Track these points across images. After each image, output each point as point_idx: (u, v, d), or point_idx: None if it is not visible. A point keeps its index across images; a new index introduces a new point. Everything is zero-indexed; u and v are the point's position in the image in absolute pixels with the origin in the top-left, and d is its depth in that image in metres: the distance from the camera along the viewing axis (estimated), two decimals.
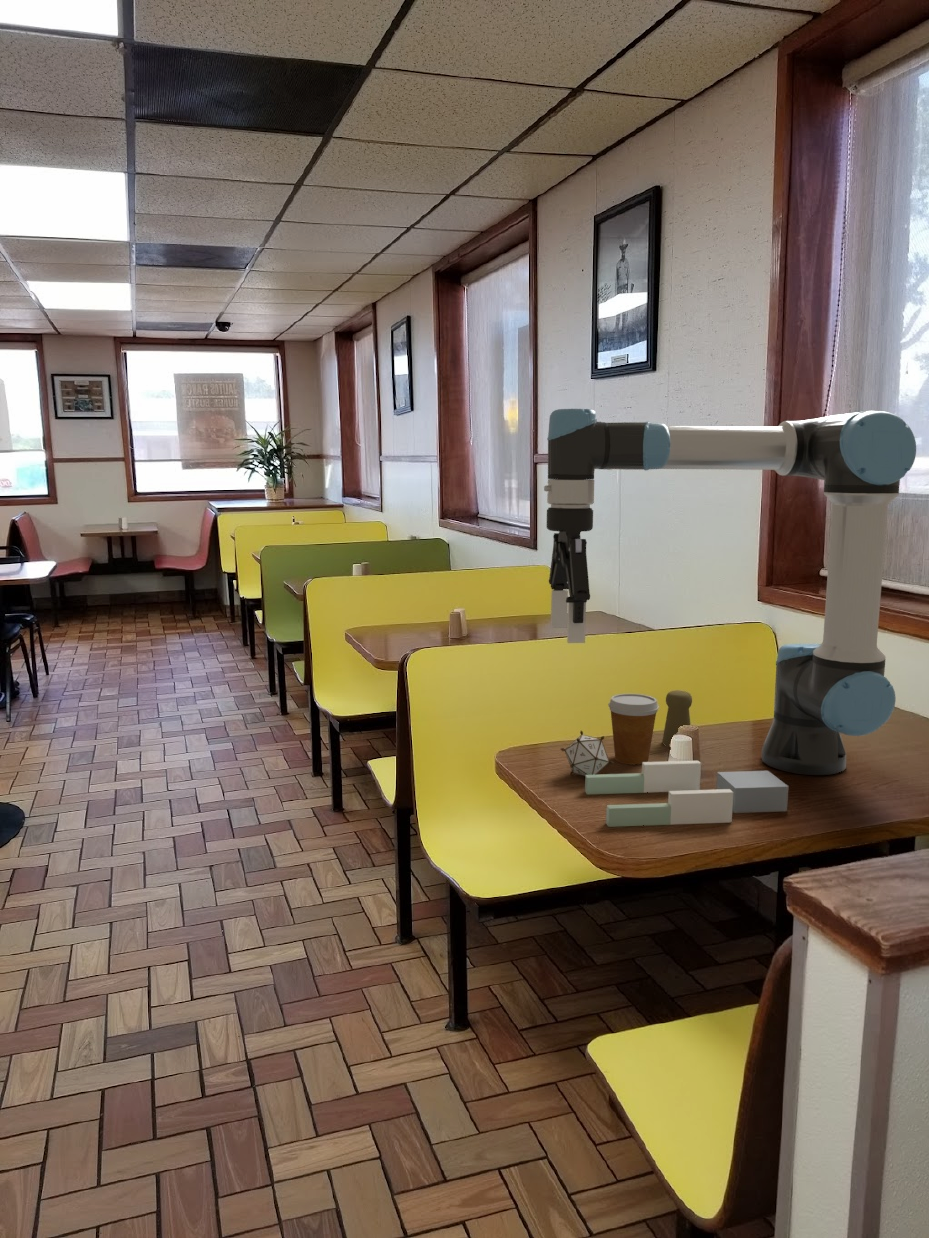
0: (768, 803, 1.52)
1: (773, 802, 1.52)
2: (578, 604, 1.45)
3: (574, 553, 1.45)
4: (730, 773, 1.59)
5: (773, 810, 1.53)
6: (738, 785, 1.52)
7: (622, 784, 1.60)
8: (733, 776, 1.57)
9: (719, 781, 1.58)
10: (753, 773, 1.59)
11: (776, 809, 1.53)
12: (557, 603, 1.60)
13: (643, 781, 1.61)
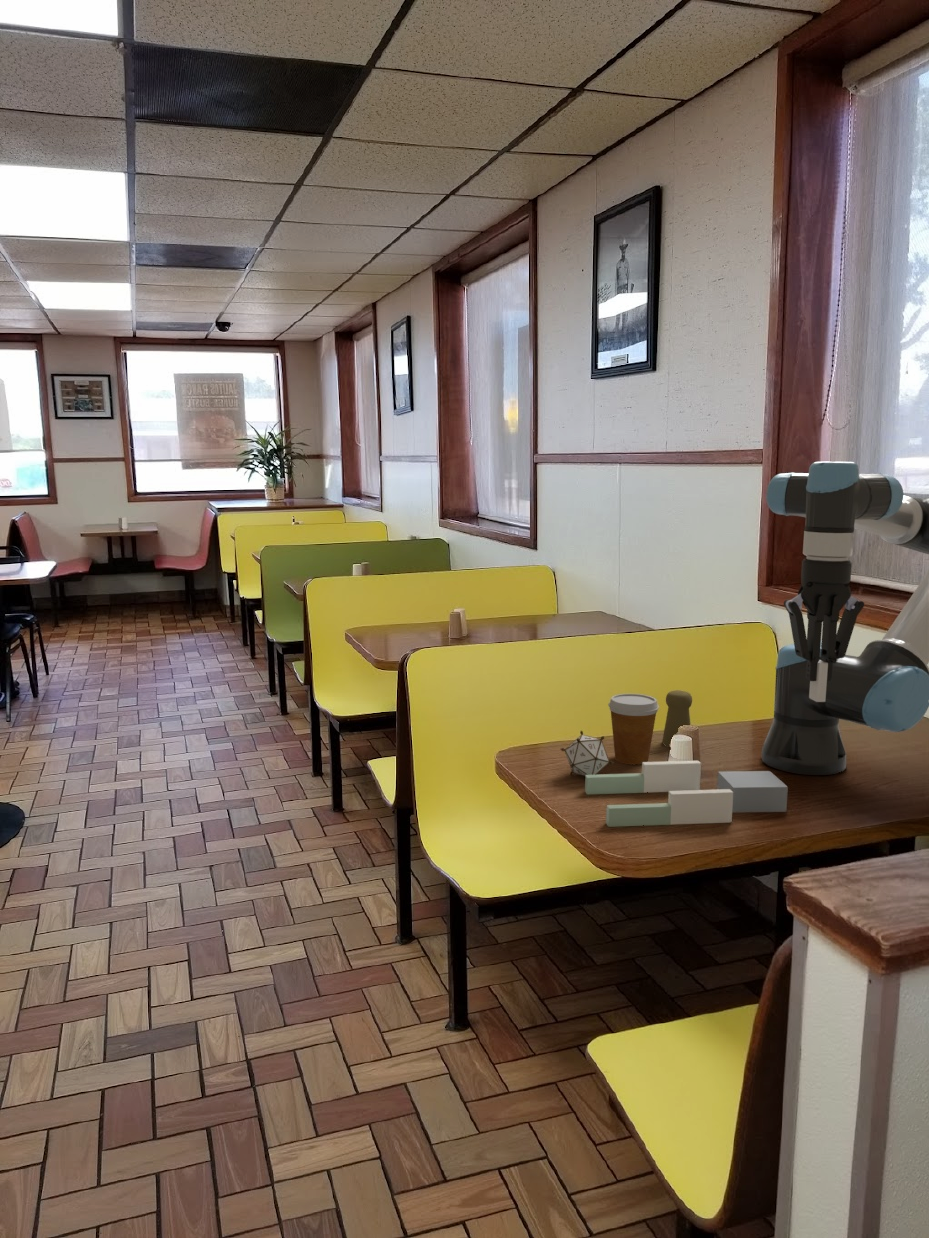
0: (767, 804, 1.52)
1: (772, 802, 1.52)
2: (808, 662, 1.53)
3: (790, 614, 1.52)
4: (731, 772, 1.59)
5: (772, 810, 1.53)
6: (736, 785, 1.53)
7: (622, 784, 1.60)
8: (733, 776, 1.57)
9: (719, 780, 1.59)
10: (754, 773, 1.59)
11: (775, 809, 1.53)
12: None
13: (643, 781, 1.61)
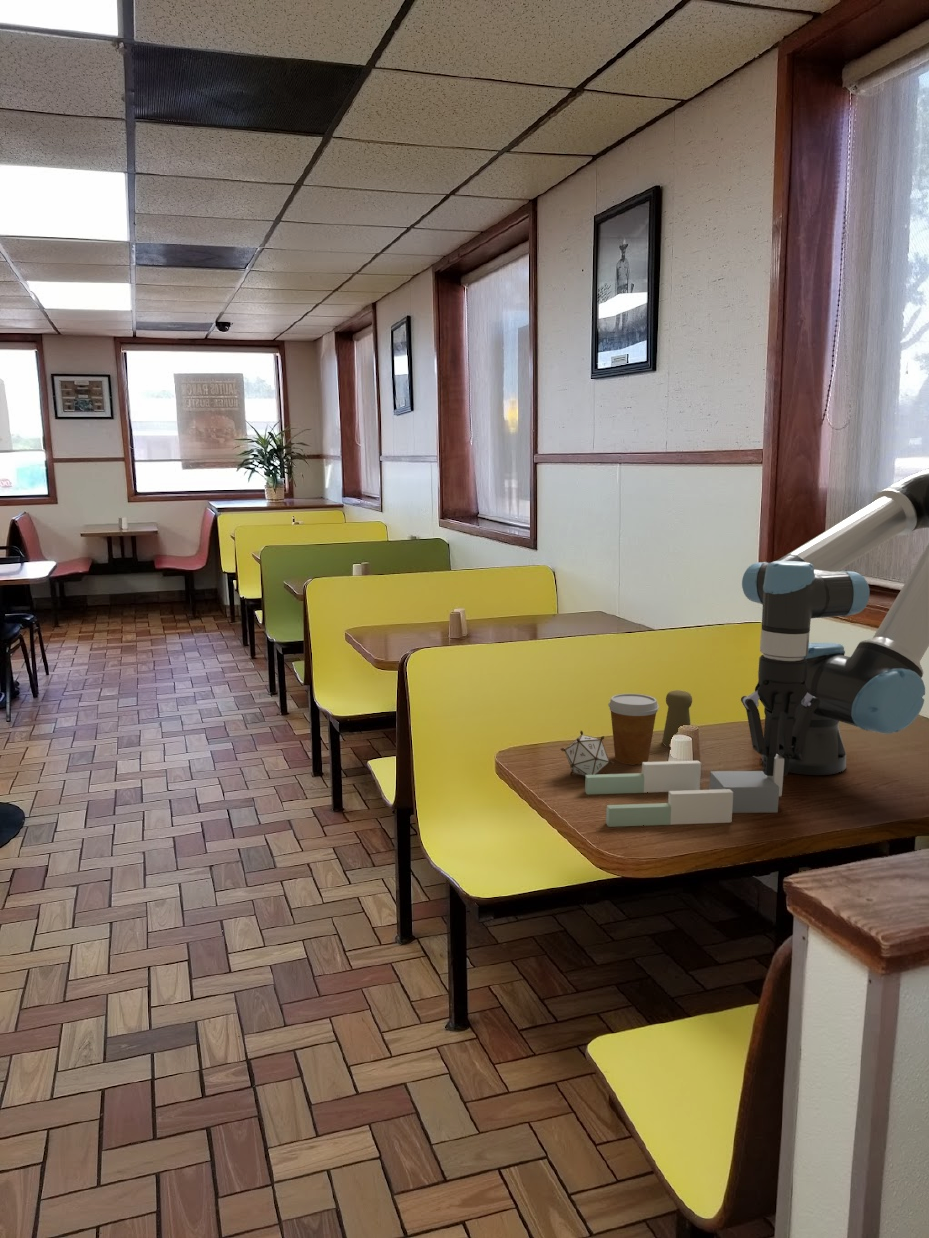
0: (758, 804, 1.52)
1: (763, 802, 1.52)
2: (765, 757, 1.55)
3: (747, 710, 1.54)
4: (723, 772, 1.59)
5: (763, 810, 1.52)
6: (728, 785, 1.52)
7: (622, 784, 1.60)
8: (725, 776, 1.57)
9: (711, 780, 1.59)
10: (746, 773, 1.58)
11: (766, 809, 1.52)
12: None
13: (643, 781, 1.61)
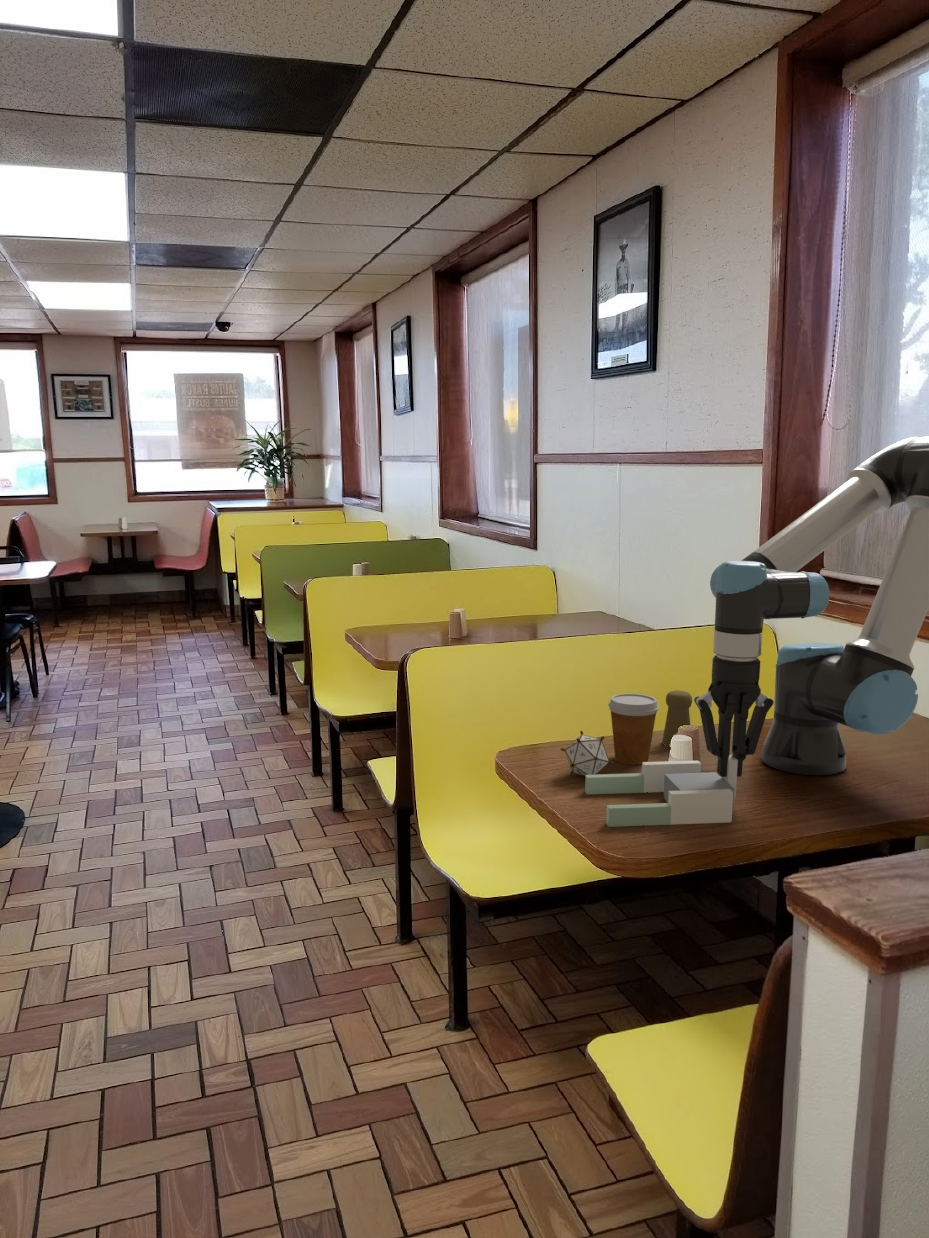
0: None
1: None
2: (718, 758, 1.55)
3: (700, 710, 1.53)
4: (677, 775, 1.57)
5: None
6: (684, 788, 1.51)
7: (622, 784, 1.60)
8: (680, 778, 1.56)
9: (666, 783, 1.57)
10: (700, 775, 1.57)
11: None
12: None
13: (643, 781, 1.61)
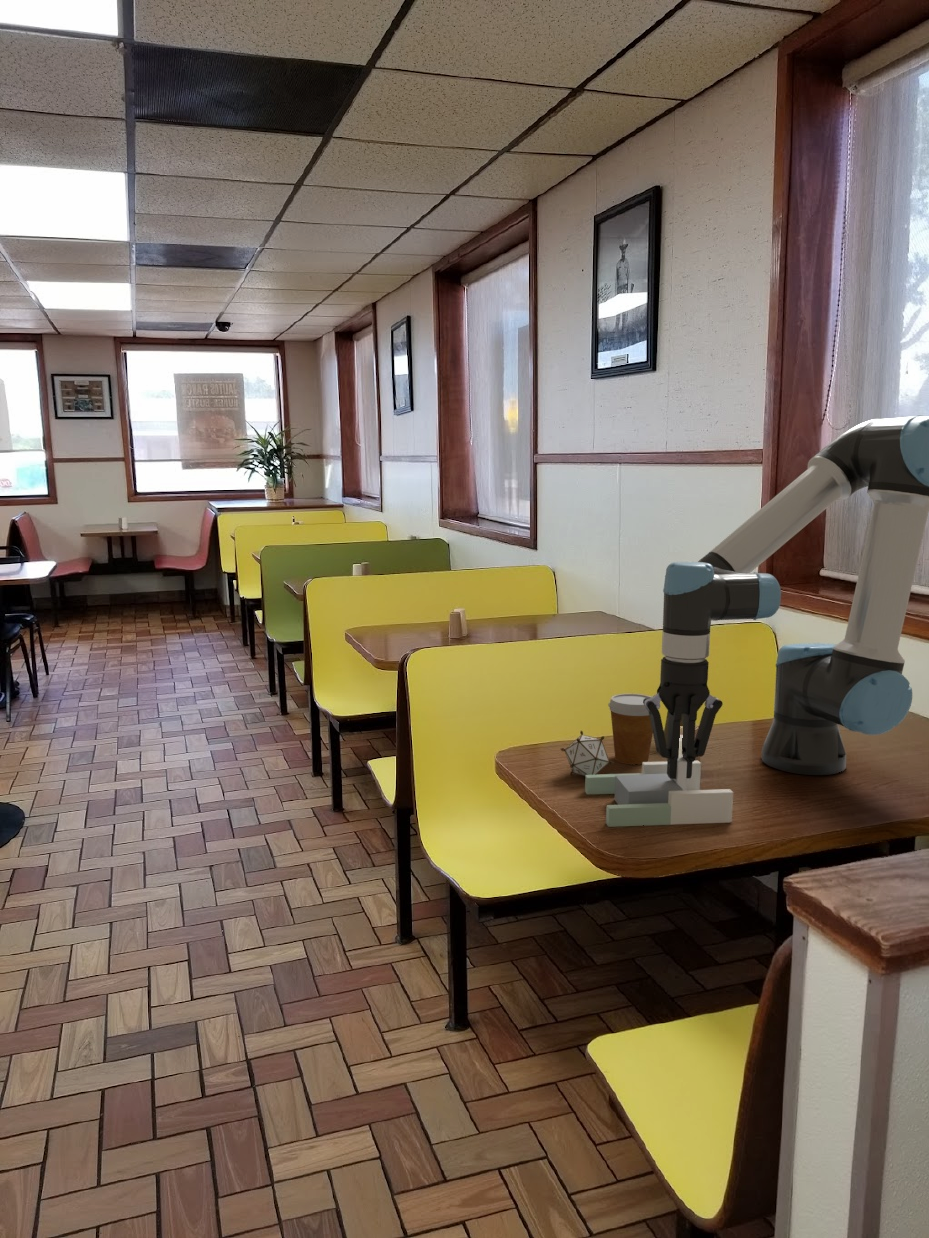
0: None
1: None
2: (668, 759, 1.54)
3: (649, 712, 1.53)
4: (628, 776, 1.57)
5: None
6: (632, 789, 1.50)
7: None
8: (629, 780, 1.55)
9: (616, 784, 1.56)
10: (651, 776, 1.56)
11: None
12: None
13: None
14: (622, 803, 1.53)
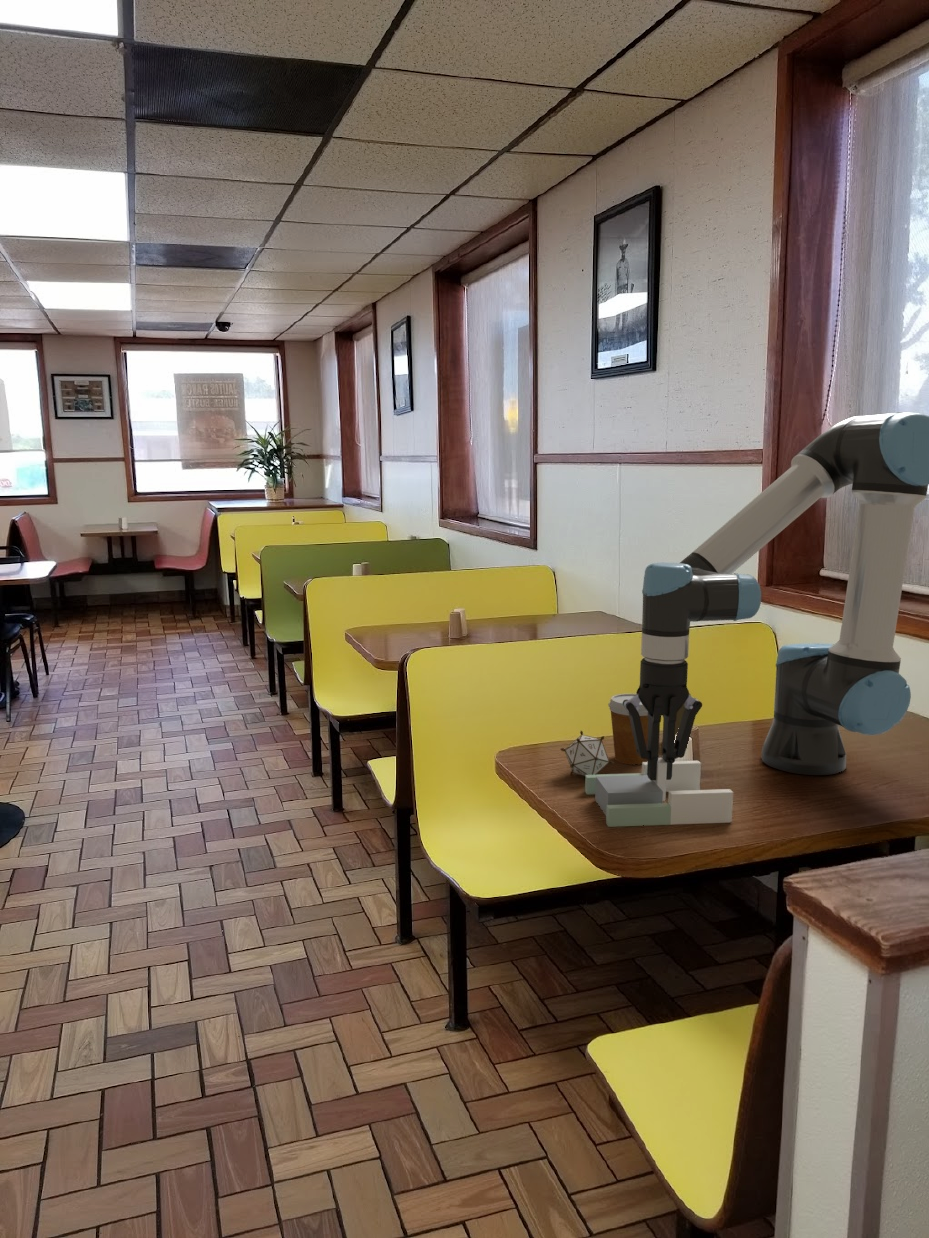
0: None
1: None
2: (648, 761, 1.53)
3: (629, 713, 1.52)
4: (608, 777, 1.56)
5: None
6: (611, 790, 1.50)
7: None
8: (610, 781, 1.54)
9: (597, 785, 1.56)
10: (632, 777, 1.56)
11: None
12: None
13: None
14: (602, 804, 1.53)
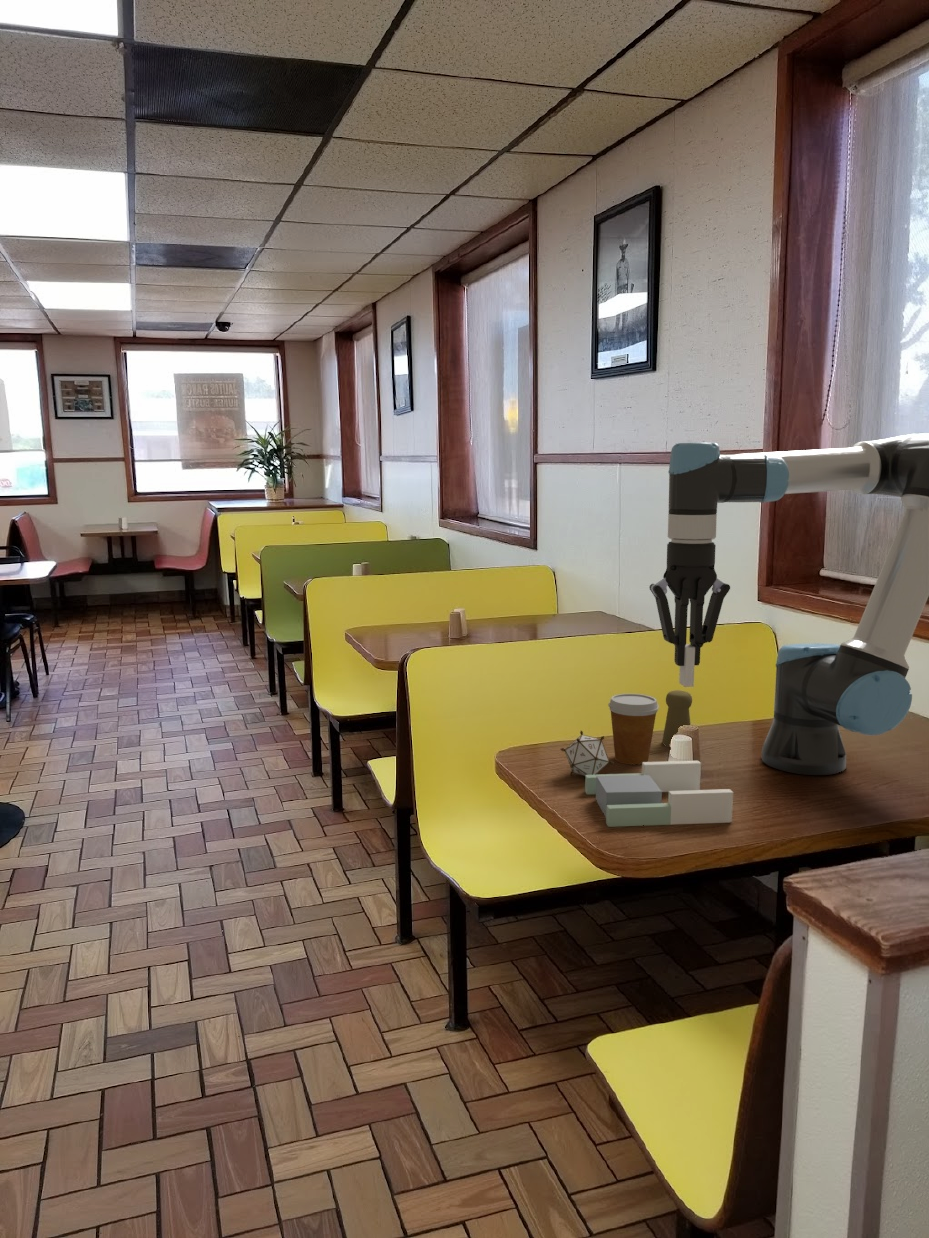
0: None
1: None
2: (675, 646, 1.51)
3: (656, 598, 1.50)
4: (609, 777, 1.56)
5: None
6: (610, 790, 1.50)
7: None
8: (610, 780, 1.55)
9: (597, 785, 1.56)
10: (632, 777, 1.56)
11: None
12: None
13: None
14: (601, 804, 1.53)
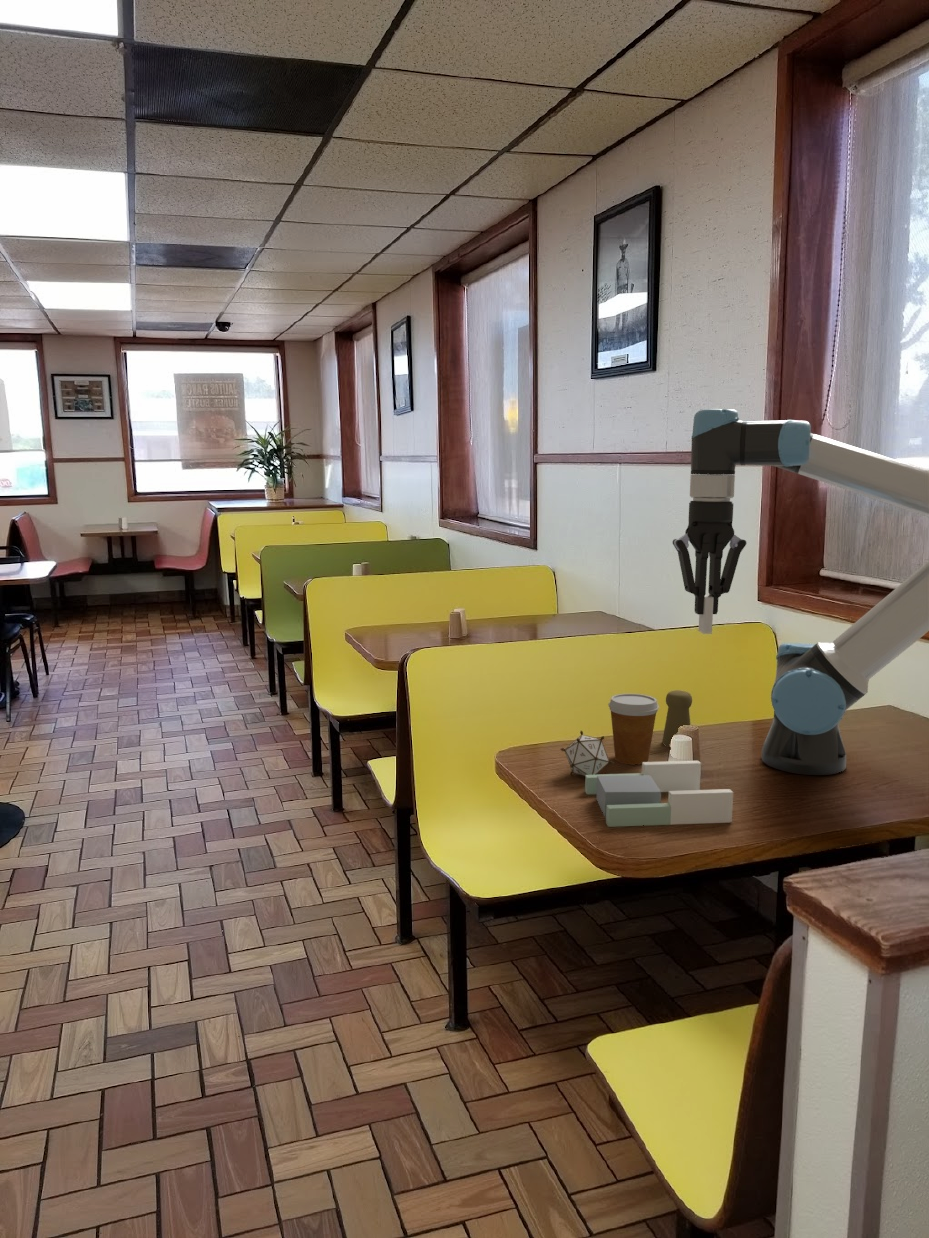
0: None
1: None
2: (695, 597, 1.66)
3: (678, 552, 1.65)
4: (609, 776, 1.56)
5: None
6: (609, 789, 1.50)
7: None
8: (610, 780, 1.55)
9: (597, 784, 1.56)
10: (633, 777, 1.56)
11: None
12: None
13: None
14: (601, 803, 1.53)
